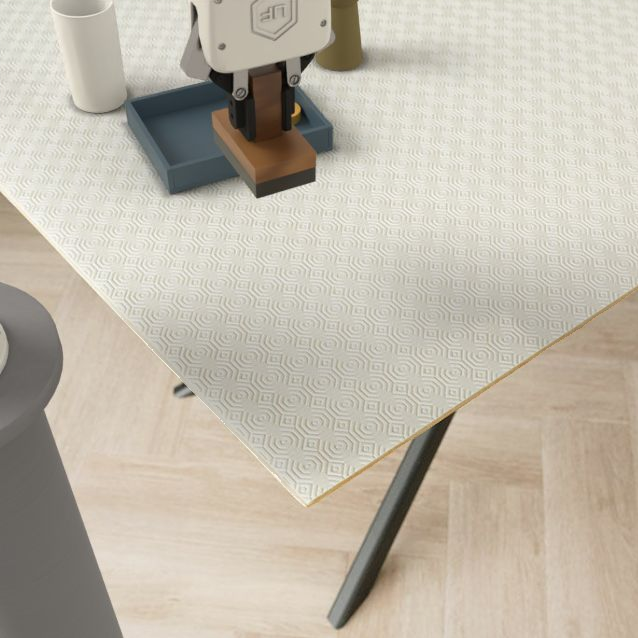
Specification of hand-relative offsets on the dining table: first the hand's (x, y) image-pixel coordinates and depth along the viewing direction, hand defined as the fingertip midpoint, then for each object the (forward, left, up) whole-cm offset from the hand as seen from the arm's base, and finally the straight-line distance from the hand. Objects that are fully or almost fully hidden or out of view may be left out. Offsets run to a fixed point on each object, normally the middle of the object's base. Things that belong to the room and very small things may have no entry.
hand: (262, 125), depth 76 cm
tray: (+5, +23, -17) cm, 29 cm away
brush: (0, 0, -4) cm, 4 cm away
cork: (+24, +33, -17) cm, 44 cm away
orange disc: (+12, +23, -16) cm, 31 cm away
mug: (-6, +38, -17) cm, 42 cm away
